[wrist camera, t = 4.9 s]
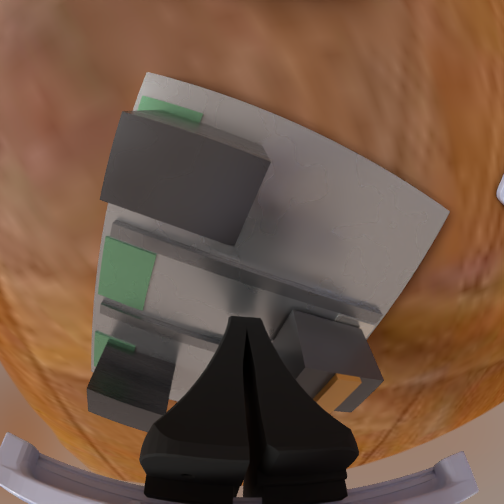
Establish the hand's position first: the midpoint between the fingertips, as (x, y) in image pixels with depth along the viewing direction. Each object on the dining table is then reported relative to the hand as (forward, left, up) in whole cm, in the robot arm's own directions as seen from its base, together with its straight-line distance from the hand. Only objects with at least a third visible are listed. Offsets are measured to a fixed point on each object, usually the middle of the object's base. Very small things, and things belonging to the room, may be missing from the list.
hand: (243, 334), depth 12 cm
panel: (0, 0, -3) cm, 3 cm away
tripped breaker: (-4, 0, -1) cm, 4 cm away
